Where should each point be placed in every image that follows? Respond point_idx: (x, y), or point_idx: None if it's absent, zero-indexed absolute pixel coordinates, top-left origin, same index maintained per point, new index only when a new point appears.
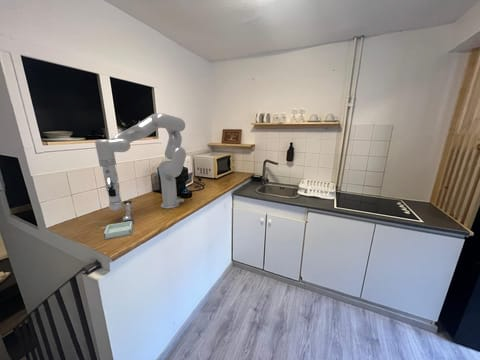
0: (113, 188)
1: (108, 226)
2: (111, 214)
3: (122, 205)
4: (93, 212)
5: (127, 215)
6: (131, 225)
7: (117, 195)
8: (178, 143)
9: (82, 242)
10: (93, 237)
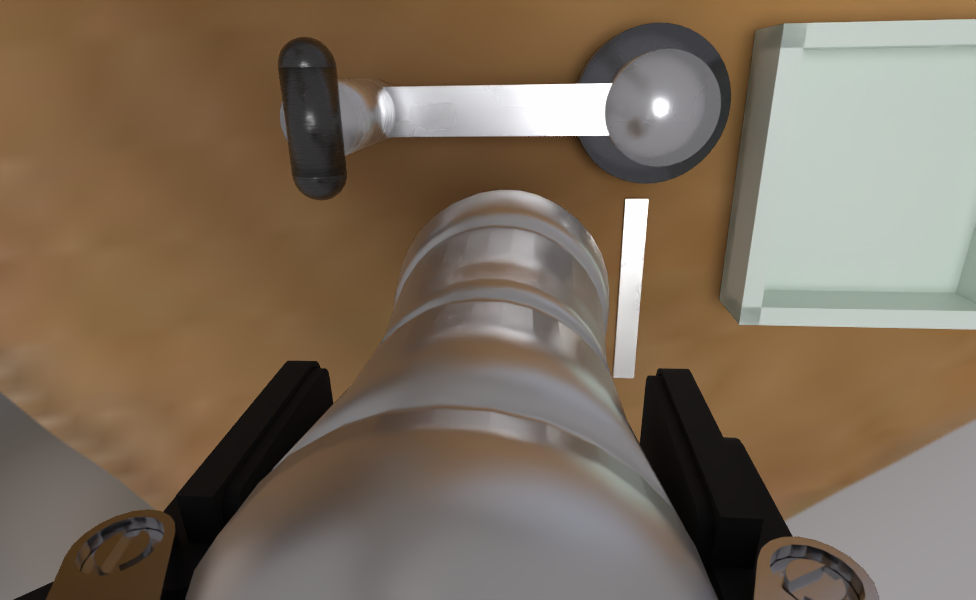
0: (864, 592)
1: (799, 308)
2: (257, 325)
3: (522, 192)
4: (152, 493)
5: (611, 105)
6: (942, 20)
7: (582, 334)
8: None
9: (879, 467)
10: (825, 403)
